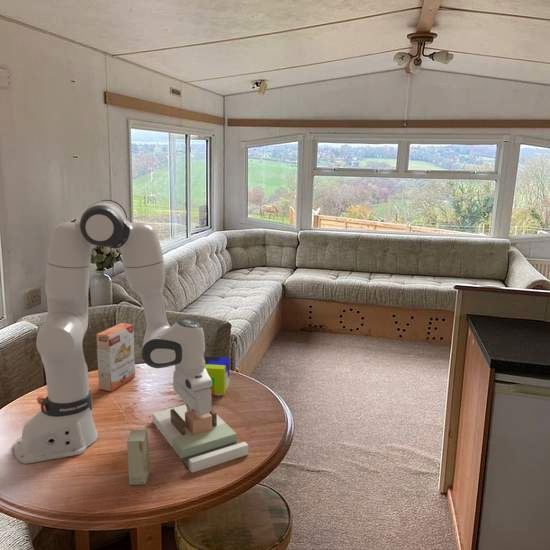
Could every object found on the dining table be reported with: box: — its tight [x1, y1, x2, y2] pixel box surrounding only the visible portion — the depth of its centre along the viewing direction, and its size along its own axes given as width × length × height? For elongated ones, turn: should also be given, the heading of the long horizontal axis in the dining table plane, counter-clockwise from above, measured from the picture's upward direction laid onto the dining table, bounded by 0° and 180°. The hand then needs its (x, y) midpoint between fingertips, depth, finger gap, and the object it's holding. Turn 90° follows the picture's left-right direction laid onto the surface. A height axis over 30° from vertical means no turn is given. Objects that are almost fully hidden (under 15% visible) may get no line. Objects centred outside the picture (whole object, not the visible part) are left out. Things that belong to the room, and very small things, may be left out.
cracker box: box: [95, 322, 136, 393], centre depth 188 cm, size 14×6×21 cm, turn 159°
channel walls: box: [170, 407, 218, 435], centre depth 156 cm, size 11×9×4 cm
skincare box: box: [126, 429, 150, 486], centre depth 134 cm, size 6×4×12 cm
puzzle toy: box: [204, 356, 230, 395], centre depth 186 cm, size 10×10×10 cm
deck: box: [151, 404, 249, 474], centre depth 155 cm, size 17×31×3 cm, turn 32°
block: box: [185, 410, 212, 435], centre depth 154 cm, size 6×6×4 cm
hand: (191, 415), depth 158 cm, fingers closed
